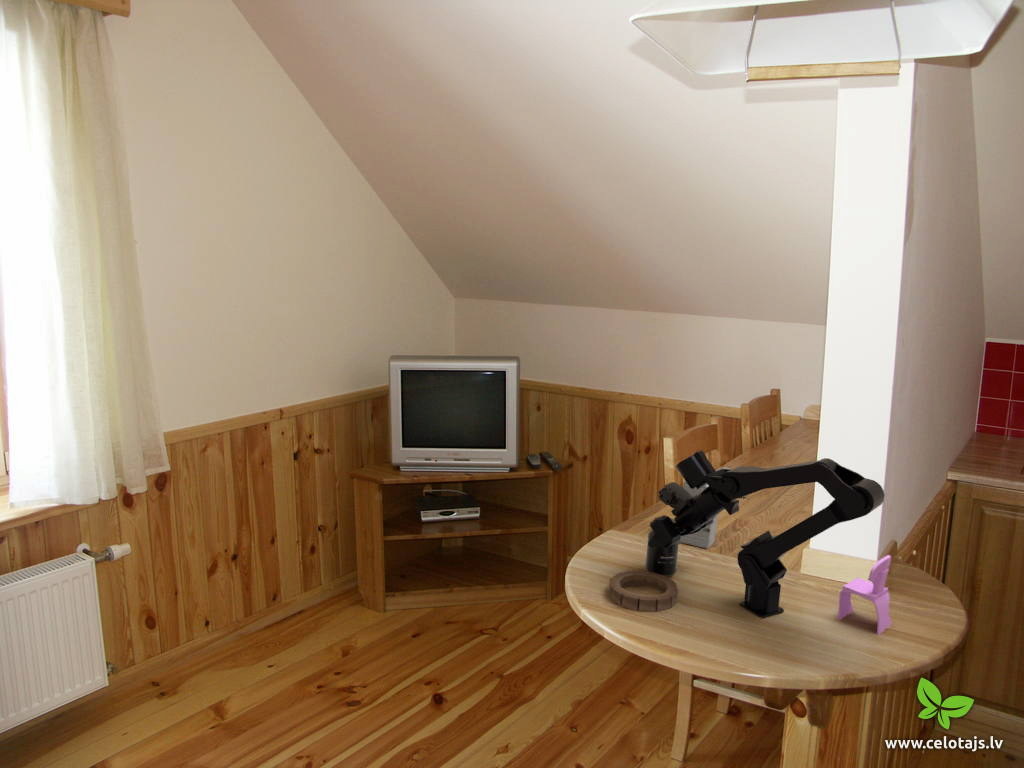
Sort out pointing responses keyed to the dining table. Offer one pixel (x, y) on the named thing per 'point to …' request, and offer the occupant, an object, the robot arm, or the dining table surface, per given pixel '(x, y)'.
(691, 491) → the skincare box
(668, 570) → the supplement bottle
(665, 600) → the segmented ring
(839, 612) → the toy chair
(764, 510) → the dining table surface
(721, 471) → the robot arm
